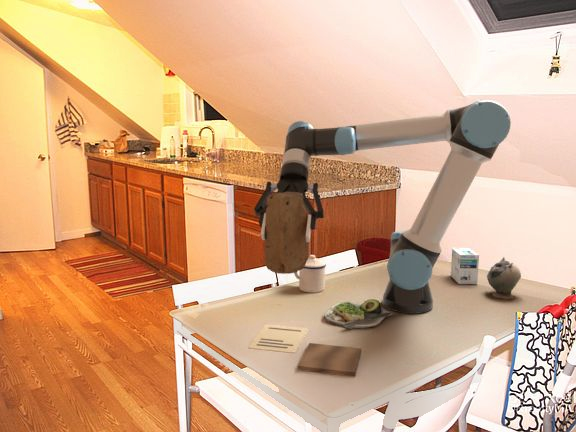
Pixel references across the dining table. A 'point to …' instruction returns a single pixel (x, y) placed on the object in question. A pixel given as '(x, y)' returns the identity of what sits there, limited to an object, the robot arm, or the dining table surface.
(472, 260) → the light bulb box
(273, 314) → the dining table surface
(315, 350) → the plate
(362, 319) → the salad plate
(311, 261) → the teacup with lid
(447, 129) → the robot arm
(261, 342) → the letter
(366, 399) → the dining table surface
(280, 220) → the brown tall rough part
